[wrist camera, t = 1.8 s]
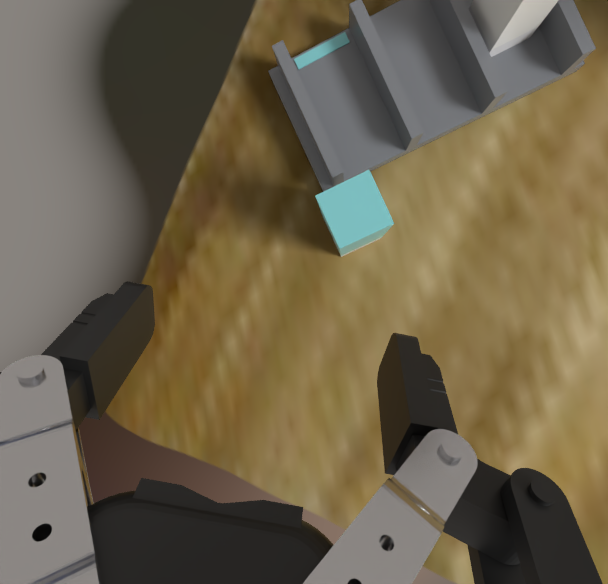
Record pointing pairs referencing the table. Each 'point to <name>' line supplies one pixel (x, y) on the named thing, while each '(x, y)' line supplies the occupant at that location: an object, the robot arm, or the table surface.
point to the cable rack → (412, 80)
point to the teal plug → (354, 213)
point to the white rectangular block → (508, 21)
